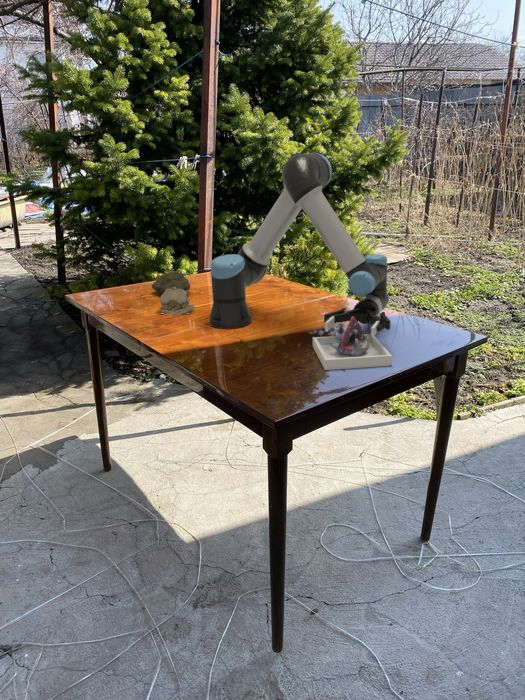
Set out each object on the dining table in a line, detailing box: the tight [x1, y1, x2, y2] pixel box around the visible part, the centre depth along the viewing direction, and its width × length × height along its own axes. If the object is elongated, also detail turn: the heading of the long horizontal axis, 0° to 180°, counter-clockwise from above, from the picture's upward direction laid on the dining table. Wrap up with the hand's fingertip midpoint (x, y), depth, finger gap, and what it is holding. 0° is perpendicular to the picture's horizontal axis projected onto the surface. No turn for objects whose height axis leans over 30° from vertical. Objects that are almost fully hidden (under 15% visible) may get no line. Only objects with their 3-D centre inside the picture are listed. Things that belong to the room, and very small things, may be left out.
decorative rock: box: [151, 270, 191, 294], centre depth 229 cm, size 15×16×10 cm
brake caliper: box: [330, 316, 369, 357], centre depth 156 cm, size 11×11×12 cm
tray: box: [312, 333, 393, 371], centre depth 156 cm, size 19×19×3 cm
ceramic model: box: [159, 287, 195, 314], centre depth 203 cm, size 14×11×10 cm
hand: (348, 329), depth 151 cm, fingers open, 13 cm apart
